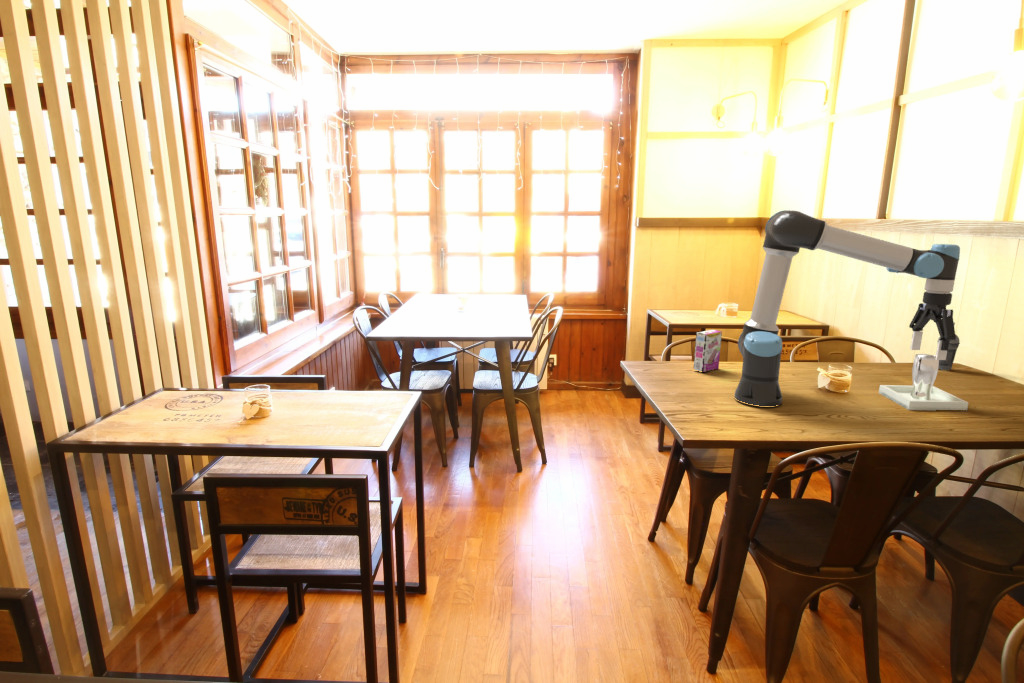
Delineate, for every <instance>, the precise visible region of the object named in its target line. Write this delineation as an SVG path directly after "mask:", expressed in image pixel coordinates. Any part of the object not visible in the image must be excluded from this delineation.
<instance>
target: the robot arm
mask: <svg viewBox="0 0 1024 683" xmlns="http://www.w3.org/2000/svg"><path fill="white" fill-rule="evenodd" d="M765 224H766V225H765V227H764V229H765V230H764V233H765V237H764V241H763V246H762V249H763V251H764V252H765V256H764V261H763V265H762V269H761V273H760V276H759V281H758V285H757V289H756V294H755V297H754V303H753V306H752V310H751V315H750V318H749V319H748V320H746V321H745V322H744V324H743V327H742V332H741V333H740V336H739V337H738V340H737V348H738V350H739V353H740V354H741V356H742V370H741V378H740V381H739V382H738V385H737V387H736V389H735V391H734V397H735V398H736V399H737V400H739V401H742V402H745V403H748V404H753V405H759V406H776V405H780V404H781V403H782V404H783V395H782V390H781V388H780V383H779V378H780V377H779V376H780V368H781V359H782V350H783V339H782V337H780V335H779V331H780V328H779V327H778V325H777V319H778V316H779V313H780V310H781V309H780V308H781V304H782V300H783V296H784V292H785V290H786V289H785V288H786V284H787V281H788V276H789V274H790V269H791V266H792V261H793V258H794V257H795V256H796V255H798V254H799V253H800V249H806V250H809V251H815V250H821V251H824V252H828V253H833V254H837V255H840V256H844V257H846V258H847V257H848V258H851V259H855V260H858V261H862V262H865V263H869V264H873V265H877V266H880V267H883V268H886V270H887V272H889V273H896V274H900V273H901V274H908V275H911V276H916V277H918V278H922V279H925V284H924V292H923V296H922V303H918V306H917V311H916V312H915V314H914V315H913V318H912V319H911V321H910V323H909V326H908V327H909V329H911V330H912V337H911V342H910V343H911V344H910V348H909V349H910V350H911V351H920V350H921V345H922V341H923V340H922V339H923V333H924V332H923V331H924V328H925V327H926V326H927V324H928V323H929V322H930V321H933V323H935V325H936V328H937V331H938V333H939V334H938V336H939V337H940V339H939V338H938V339H939V341H938V340H937V341H938V342H937V349H936V354H935V356H936V358H935V359H936V360H946V355H947V350H948V347H949V342H950V341H951V340H955V339H956V336H955V334H956V330H955V325H954V317H953V316H954V309H948V308H947V306H948V305H949V306H950V305H951V304H952V299H953V292H954V286H955V280H956V276H957V270H958V266H959V261H960V256H961V255H960V253H961V248H960V245H958V244H948V243H947V244H945V243H944V244H943V243H939V244H938V243H935V244H932V246H931V248H930V249H927V250H926V249H925V250H923V249H921V250H920V249H917V248H912V247H909V246H905V245H901V244H897V243H895V242H891V241H888V240H883V239H881V238H875V237H872V236H868V235H864V234H861V233H857V232H854V231H850V230H846V229H843V228H839V227H835V226H831V225H829V224H828V223H827V221H825V220H822V219H818V218H815V217H813V216H811V215H808V214H805V213H803V212H801V211H797V210H790V209H789V210H780V211H777V212H776V213H774V214H773V215H772V216H770V218H768V220H767V222H766V223H765ZM944 336H945V337H944ZM735 398H734V399H735ZM782 404H781V405H782ZM781 405H780V406H781Z"/></svg>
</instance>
